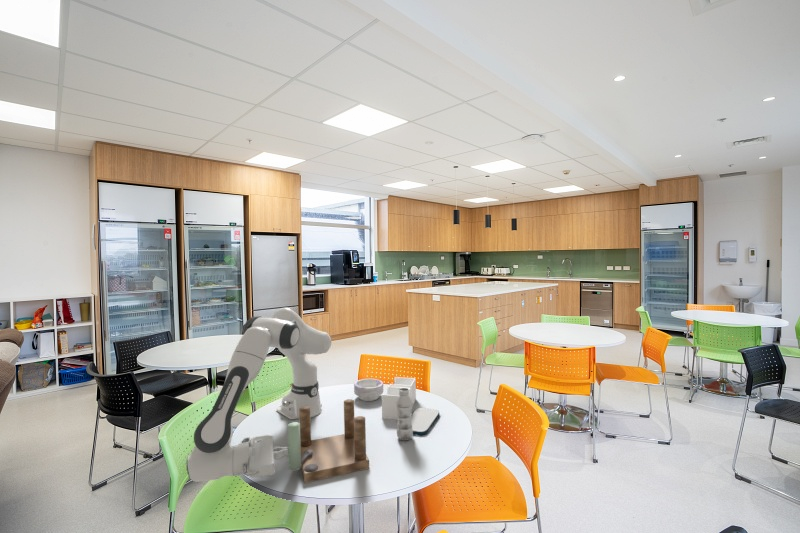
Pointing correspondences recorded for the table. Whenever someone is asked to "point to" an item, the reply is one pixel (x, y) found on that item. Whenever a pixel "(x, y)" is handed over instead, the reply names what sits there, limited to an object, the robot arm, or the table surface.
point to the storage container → (393, 393)
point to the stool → (334, 447)
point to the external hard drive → (423, 420)
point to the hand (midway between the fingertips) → (288, 450)
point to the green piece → (295, 447)
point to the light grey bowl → (368, 389)
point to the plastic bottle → (404, 415)
